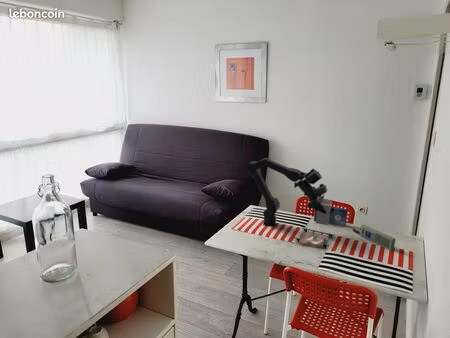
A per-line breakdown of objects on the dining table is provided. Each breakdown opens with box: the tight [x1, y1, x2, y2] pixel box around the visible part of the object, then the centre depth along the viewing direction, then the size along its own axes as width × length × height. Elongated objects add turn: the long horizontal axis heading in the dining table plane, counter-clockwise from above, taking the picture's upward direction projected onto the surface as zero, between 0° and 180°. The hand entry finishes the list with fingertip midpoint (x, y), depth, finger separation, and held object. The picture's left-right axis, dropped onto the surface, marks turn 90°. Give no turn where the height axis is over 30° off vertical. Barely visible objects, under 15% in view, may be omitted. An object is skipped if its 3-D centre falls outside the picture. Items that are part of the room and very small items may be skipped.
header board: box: [298, 232, 325, 249], centre depth 178 cm, size 12×12×4 cm
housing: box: [315, 198, 332, 226], centre depth 184 cm, size 6×6×12 cm
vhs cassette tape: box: [313, 206, 348, 227], centre depth 201 cm, size 18×3×10 cm, turn 65°
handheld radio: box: [352, 223, 397, 252], centre depth 179 cm, size 7×3×25 cm
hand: (326, 211), depth 184 cm, fingers closed on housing, 6 cm apart
